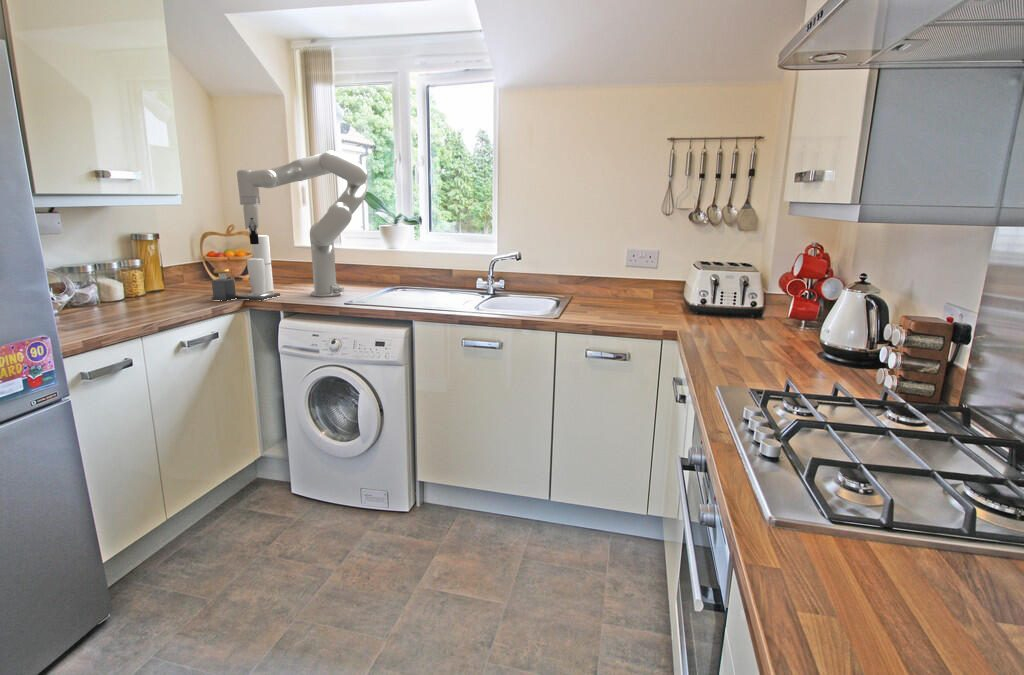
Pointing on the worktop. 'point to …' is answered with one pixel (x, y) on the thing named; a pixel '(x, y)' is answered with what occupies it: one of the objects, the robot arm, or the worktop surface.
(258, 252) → the cylindrical container
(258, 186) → the robot arm
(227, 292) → the press base
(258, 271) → the drinking glass
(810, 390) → the worktop surface
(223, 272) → the plunger
